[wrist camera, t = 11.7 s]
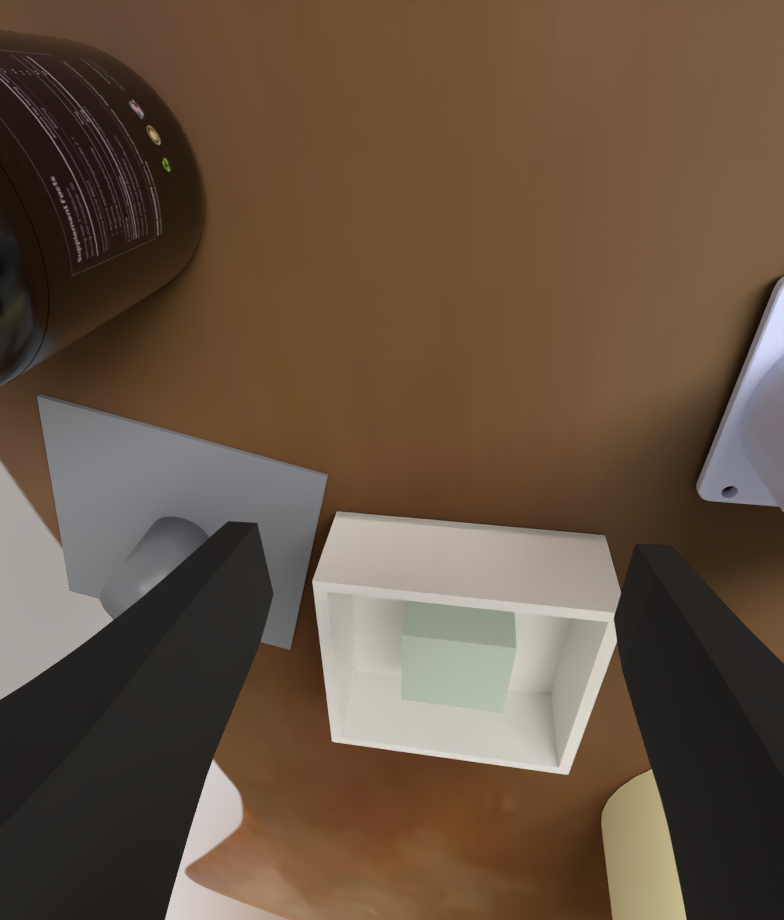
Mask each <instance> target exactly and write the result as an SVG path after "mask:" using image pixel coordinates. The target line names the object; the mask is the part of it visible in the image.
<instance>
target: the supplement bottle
mask: <svg viewBox="0 0 784 920" xmlns="http://www.w3.org/2000/svg"><path fill="white" fill-rule="evenodd" d="M203 213H204V199H203V189H202V183H201V178H200V173H199V169H198V166H197V162H196V159H195V156H194V154H193V151H192V148H191V146H190V144H189V142H188V139H187V137H186V135H185V133H184V131H183V130H182V128H181V126H180V124H179V122H178V121H177V119H176V118H175V116H174V114H173V113H172V111H171V110H170V109H169V107H168V106H167V105H166V103H165V102H164V101H163V100H162V98H161V97H160V96H159V95H158V94H157V93H156V91H155V90H154V89H153V88H152V87H151V86H150V85H149V84H148V83H147V82H146V81H145V80H144V79H143V78H141V77H140V76H139V75H138V74H137V73H135V72H134V71H133V70H132V69H130V68H129V67H128V66H126V65H125V64H123V63H122V62H121V61H119V60H118V59H116V58H114V57H112V56H111V55H109V54H107V53H105V52H103V51H101V50H99V49H97V48H94V47H91V46H88V45H86V44H83V43H79V42H75V41H71V40H67V39H61V38H55V37H49V36H41V35H34V34H27V33H20V32H12V31H5V30H0V387H1V386H3V385H4V384H7V383H9V382H10V381H12V380H14V379H15V378H17V377H18V376H20V375H22V374H23V373H25V372H27V371H28V370H30V369H31V368H33V367H35V366H36V365H38V364H39V363H41V362H43V361H44V360H46V359H47V358H49V357H51V356H52V355H54V354H56V353H57V352H59V351H60V350H62V349H64V348H65V347H67V346H68V345H70V344H72V343H73V342H75V341H76V340H78V339H80V338H81V337H83V336H84V335H86V334H88V333H89V332H91V331H92V330H94V329H96V328H97V327H99V326H101V325H102V324H104V323H105V322H107V321H109V320H110V319H112V318H113V317H115V316H117V315H118V314H120V313H121V312H123V311H125V310H126V309H128V308H129V307H131V306H133V305H134V304H136V303H138V302H139V301H141V300H142V299H144V298H146V297H147V296H149V295H150V294H152V293H154V292H155V291H157V290H158V289H159V288H161V287H162V286H164V285H165V284H167V283H168V282H170V281H171V280H172V279H173V278H175V277H176V276H177V275H178V274H179V273H180V272H181V271H182V270H183V269H184V267H185V266H186V265H187V263H188V262H189V260H190V259H191V257H192V255H193V253H194V251H195V249H196V246H197V244H198V241H199V237H200V234H201V229H202V224H203Z"/></svg>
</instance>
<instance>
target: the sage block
mask: <svg viewBox="0 0 784 920" xmlns="http://www.w3.org/2000/svg"><path fill="white" fill-rule="evenodd" d="M516 649H517V647H516V630H515V614H514V612H509V611H500V610H491V609H481V608H472V607H463V606H453V605H444V604H435V603H425V602H416V601H407V606H406V613H405V620H404V626H403V633H402V693H401V700H406V701H414V702H422V703H430V704H437V705H445V706H453V707H461V708H468V709H476V710H484V711H491V712H499V713H504V708H505V703H506V698H507V693H508V688H509V683H510V678H511V673H512V668H513V664H514V659H515V654H516Z"/></svg>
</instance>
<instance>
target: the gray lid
mask: <svg viewBox="0 0 784 920" xmlns="http://www.w3.org/2000/svg"><path fill="white" fill-rule="evenodd" d="M37 399H38V405H39V411H40V417H41V423H42V429H43V435H44V441H45V446H46V452H47V458H48V464H49V470H50V476H51V482H52V488H53V494H54V500H55V505H56V511H57V517H58V523H59V529H60V535H61V541H62V547H63V553H64V559H65V564H66V570H67V576H68V582H69V588H70V591H73V592H76V593H80V594H84V595H88V596H91V597H95V598H99V599H100V600H101V603H102V606H103V607H104V609H105V610H106V612H107V613H108V614H109V615H110V616H111V617H112V618H113V619H116V618H117V617H118V616H119V615H120V614H122V613H123V612H124V611H125V610H127V609H128V608H129V607H130V606H132V605H133V604H134V603H135V602H137V601H138V600H139V599H140V598H142V597H143V596H144V595H145V594H146V593H148V592H149V591H150V590H151V589H152V588H153V587H154V586H156V585H157V584H158V583H159V582H160V581H161V580H163V579H164V578H165V577H166V576H167V575H168V574H169V573H171V572H172V571H173V570H174V569H175V568H176V567H177V566H178V565H180V564H181V563H182V562H183V561H184V560H185V559H186V558H187V557H189V556H190V555H191V554H192V553H193V552H194V551H195V550H196V549H197V548H199V547H200V546H201V545H202V544H203V543H204V542H205V541H206V540H207V539H209V538H210V537H211V536H212V535H213V534H214V533H215V532H216V531H217V530H219V529H220V528H221V527H222V526H223V525H224V524H226V523H227V522H228V521H235V522H253V523H258V527H259V532H260V536H261V541H262V545H263V549H264V554H265V558H266V563H267V567H268V571H269V576H270V580H271V585H272V589H273V593H274V594H273V598H272V602H271V606H270V610H269V614H268V618H267V621H266V625H265V628H264V632H263V635H262V639H261V642H262V643H266V644H270V645H273V646H277V647H281V648H284V649H288V650H290V649H291V645H292V641H293V636H294V631H295V627H296V622H297V617H298V613H299V608H300V603H301V599H302V594H303V589H304V585H305V580H306V576H307V571H308V566H309V562H310V557H311V552H312V548H313V543H314V538H315V534H316V529H317V524H318V520H319V515H320V510H321V506H322V501H323V496H324V492H325V487H326V483H327V478H328V474H324V473H320V472H317V471H313V470H310V469H306V468H303V467H299V466H296V465H292V464H288V463H285V462H281V461H278V460H274V459H271V458H267V457H263V456H260V455H256V454H253V453H249V452H246V451H242V450H239V449H235V448H231V447H228V446H224V445H221V444H217V443H214V442H210V441H206V440H203V439H199V438H196V437H192V436H189V435H185V434H182V433H178V432H174V431H171V430H167V429H164V428H160V427H157V426H153V425H149V424H146V423H142V422H139V421H135V420H132V419H128V418H125V417H121V416H117V415H114V414H110V413H107V412H103V411H100V410H96V409H93V408H89V407H85V406H82V405H78V404H75V403H71V402H68V401H64V400H60V399H57V398H53V397H50V396H46V395H43V394H40V395H38V396H37Z"/></svg>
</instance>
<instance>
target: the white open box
mask: <svg viewBox="0 0 784 920" xmlns="http://www.w3.org/2000/svg"><path fill="white" fill-rule="evenodd" d="M312 583H313V591H314V599H315V607H316V615H317V623H318V632H319V640H320V648H321V656H322V664H323V672H324V680H325V688H326V696H327V704H328V713H329V721H330V729H331V737H332V742H337V743H344V744H351V745H359V746H366V747H373V748H380V749H387V750H394V751H401V752H408V753H415V754H423V755H430V756H437V757H444V758H451V759H458V760H465V761H472V762H479V763H487V764H494V765H501V766H508V767H515V768H522V769H529V770H536V771H543V772H551V773H558V774H565V775H568V774H569V771H570V769H571V766H572V763H573V760H574V758H575V755H576V752H577V749H578V747H579V744H580V741H581V738H582V736H583V733H584V730H585V727H586V725H587V722H588V719H589V717H590V714H591V711H592V708H593V706H594V703H595V700H596V697H597V695H598V692H599V689H600V686H601V684H602V681H603V678H604V676H605V673H606V670H607V667H608V665H609V662H610V659H611V656H612V654H613V651H614V648H615V645H616V643H617V637H616V630H615V624H614V615H615V612H616V609H617V605H618V602H619V598H620V595H621V591H620V587H619V584H618V580H617V576H616V573H615V569H614V566H613V562H612V558H611V555H610V551H609V548H608V544H607V540H606V537H605V535H598V534H587V533H575V532H564V531H553V530H542V529H530V528H519V527H508V526H497V525H485V524H474V523H463V522H452V521H441V520H429V519H418V518H407V517H396V516H384V515H373V514H362V513H351V512H339V511H337V512H336V515H335V518H334V521H333V524H332V526H331V529H330V532H329V535H328V538H327V541H326V543H325V546H324V549H323V552H322V555H321V558H320V560H319V563H318V566H317V569H316V572H315V575H314V578H313V580H312ZM407 601H416V602H425V603H435V604H444V605H453V606H463V607H472V608H481V609H491V610H500V611H509V612H514V614H515V630H516V647H517V649H516V654H515V659H514V664H513V668H512V673H511V678H510V683H509V688H508V693H507V698H506V703H505V708H504V713H499V712H491V711H484V710H476V709H468V708H461V707H453V706H445V705H437V704H430V703H422V702H414V701H406V700H401V693H402V633H403V626H404V620H405V613H406V606H407Z"/></svg>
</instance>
